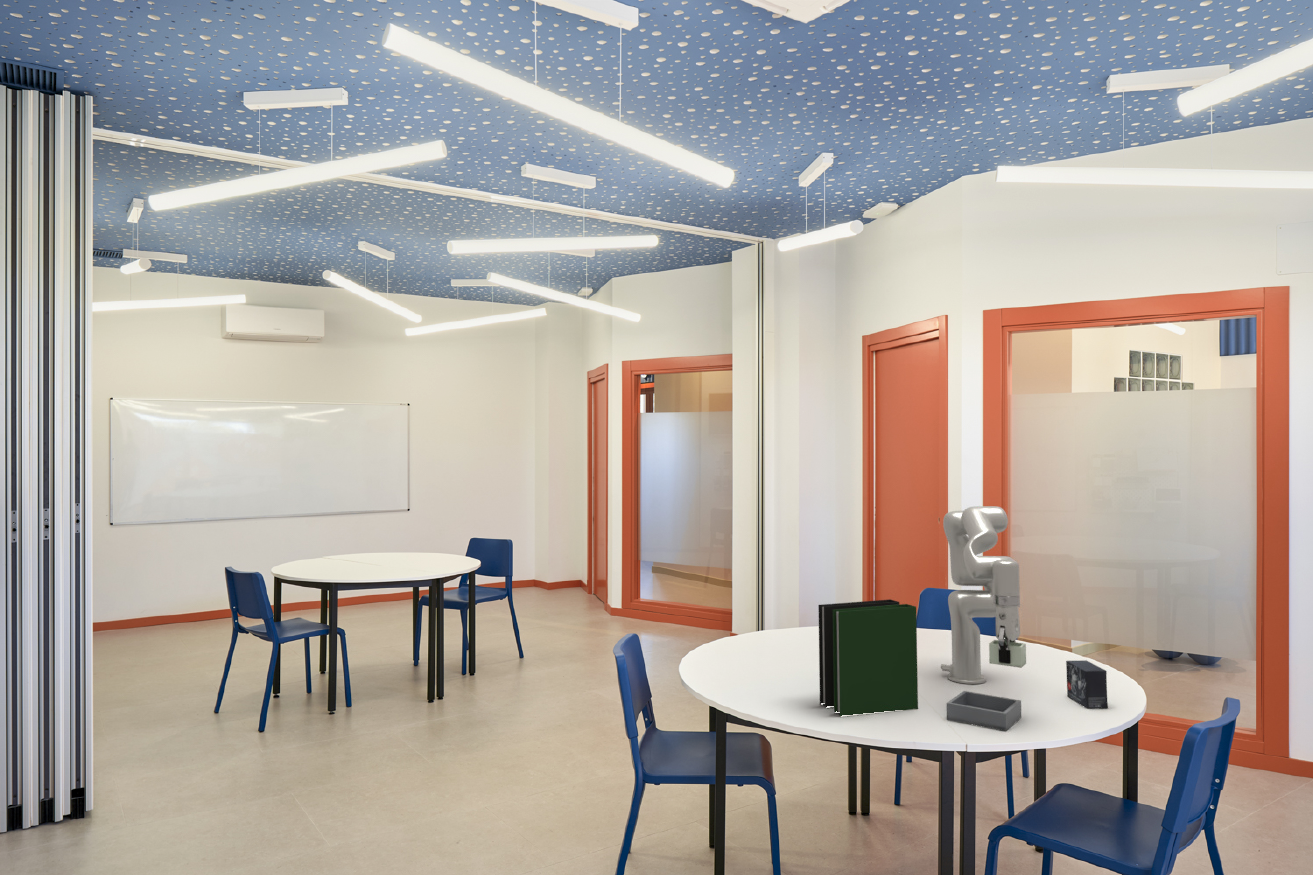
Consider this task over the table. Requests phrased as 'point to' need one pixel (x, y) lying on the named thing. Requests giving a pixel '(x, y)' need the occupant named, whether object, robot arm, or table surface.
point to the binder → (868, 656)
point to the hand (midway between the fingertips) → (1007, 660)
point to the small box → (1087, 684)
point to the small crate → (1015, 654)
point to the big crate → (984, 710)
